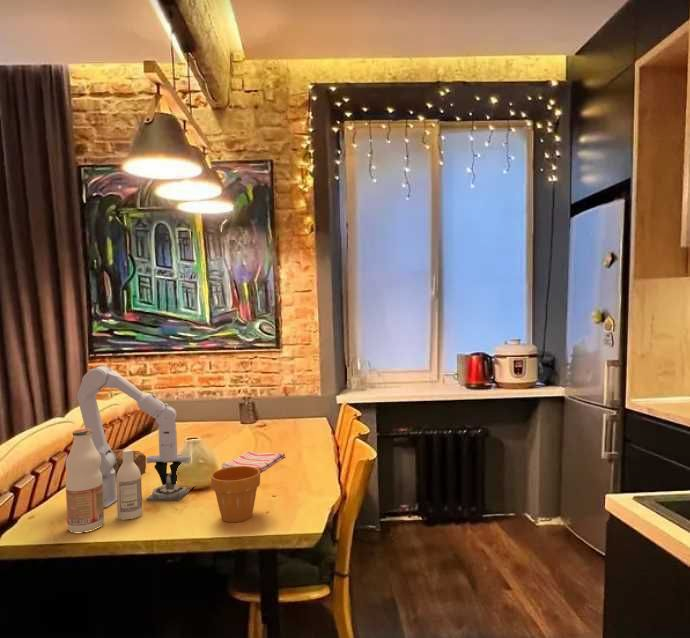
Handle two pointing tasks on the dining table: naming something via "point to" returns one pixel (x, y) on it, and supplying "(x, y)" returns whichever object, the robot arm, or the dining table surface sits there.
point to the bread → (137, 459)
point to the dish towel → (255, 460)
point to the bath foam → (128, 488)
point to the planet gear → (169, 485)
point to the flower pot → (236, 491)
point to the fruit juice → (84, 484)
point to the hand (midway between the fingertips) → (169, 484)
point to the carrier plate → (167, 495)
